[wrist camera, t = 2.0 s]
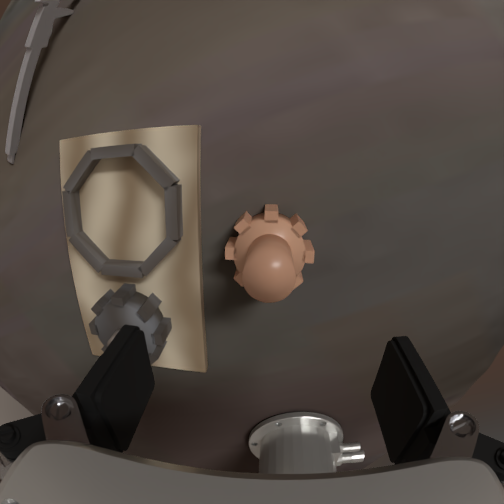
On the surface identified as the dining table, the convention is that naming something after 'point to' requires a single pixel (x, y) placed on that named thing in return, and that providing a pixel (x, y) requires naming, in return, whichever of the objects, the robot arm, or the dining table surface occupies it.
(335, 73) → the dining table surface
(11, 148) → the caliper
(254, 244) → the planet gear
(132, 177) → the carrier
